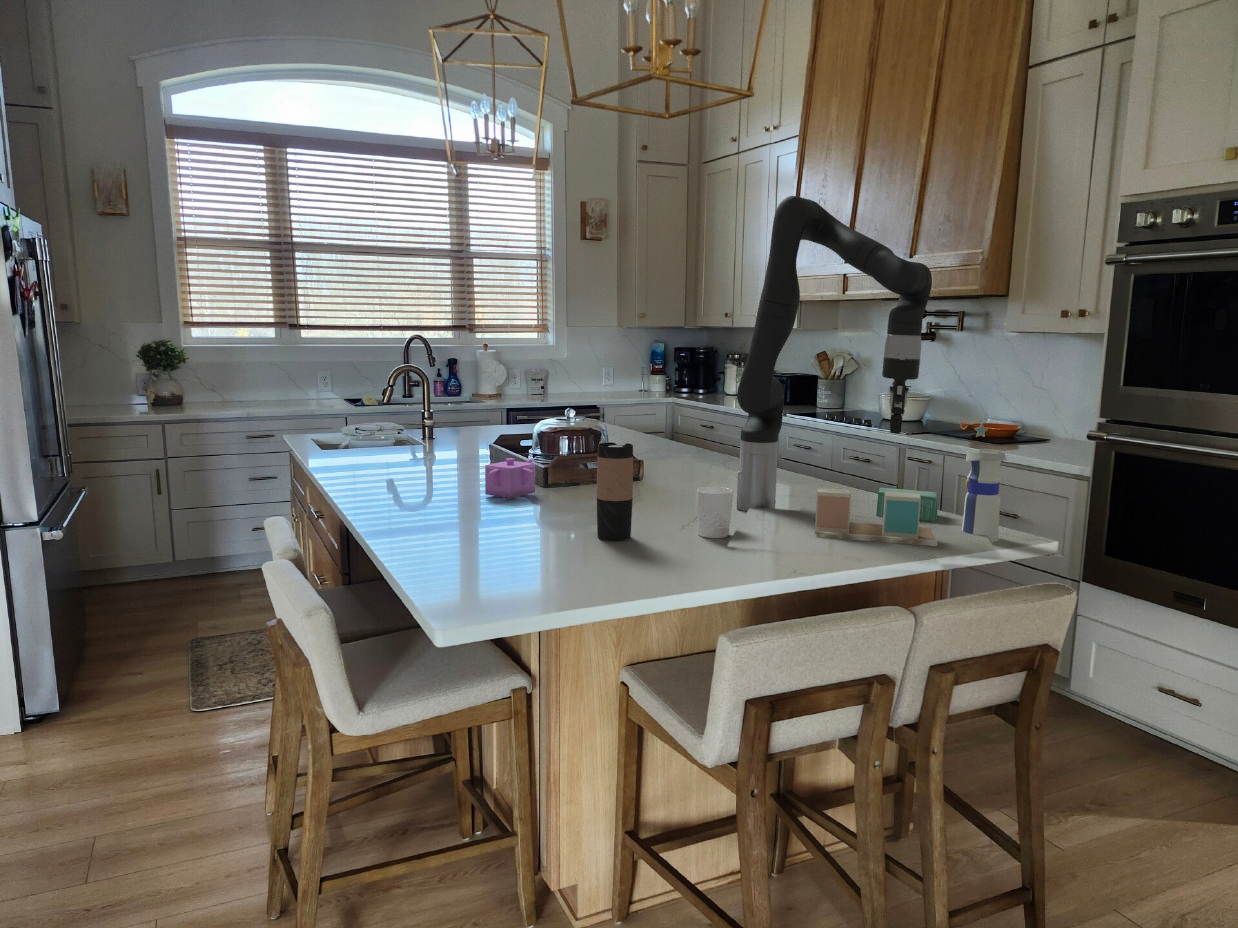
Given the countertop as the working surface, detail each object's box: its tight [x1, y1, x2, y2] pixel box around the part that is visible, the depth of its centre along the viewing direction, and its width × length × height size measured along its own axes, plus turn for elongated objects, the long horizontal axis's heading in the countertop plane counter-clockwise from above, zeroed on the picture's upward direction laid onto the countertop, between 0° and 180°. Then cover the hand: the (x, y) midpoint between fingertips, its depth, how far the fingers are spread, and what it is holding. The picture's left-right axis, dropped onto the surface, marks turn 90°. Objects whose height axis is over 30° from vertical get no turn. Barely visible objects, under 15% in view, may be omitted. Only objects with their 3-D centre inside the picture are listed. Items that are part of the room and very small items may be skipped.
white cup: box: [696, 486, 734, 539], centre depth 188 cm, size 8×8×10 cm
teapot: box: [484, 457, 536, 501], centre depth 228 cm, size 18×14×10 cm
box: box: [875, 487, 939, 522], centre depth 205 cm, size 7×14×8 cm, turn 71°
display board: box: [816, 521, 939, 547], centre depth 188 cm, size 24×17×2 cm
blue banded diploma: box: [961, 422, 1007, 543], centre depth 188 cm, size 8×9×25 cm
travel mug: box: [596, 442, 634, 542], centre depth 184 cm, size 8×8×20 cm
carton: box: [882, 492, 921, 539], centre depth 183 cm, size 7×5×9 cm
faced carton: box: [814, 487, 852, 534], centre depth 187 cm, size 7×5×9 cm
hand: (895, 430), depth 190 cm, fingers open, 8 cm apart
